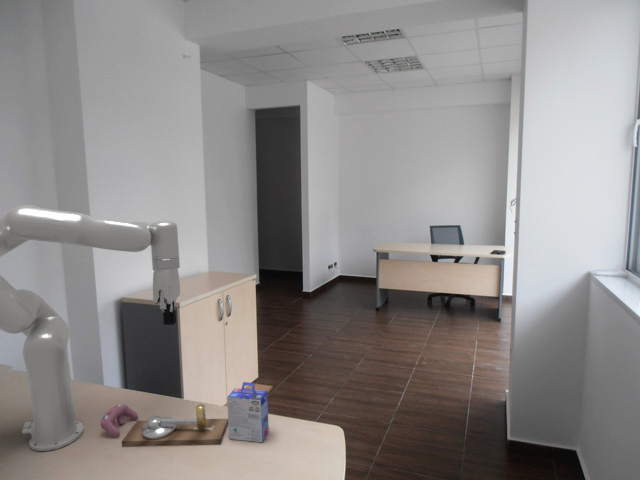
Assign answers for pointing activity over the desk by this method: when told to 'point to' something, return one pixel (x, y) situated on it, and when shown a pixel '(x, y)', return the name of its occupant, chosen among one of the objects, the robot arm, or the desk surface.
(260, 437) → the ink cartridge box
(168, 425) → the silver lever with knob
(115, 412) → the video game controller
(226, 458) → the desk surface
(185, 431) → the stand plate
